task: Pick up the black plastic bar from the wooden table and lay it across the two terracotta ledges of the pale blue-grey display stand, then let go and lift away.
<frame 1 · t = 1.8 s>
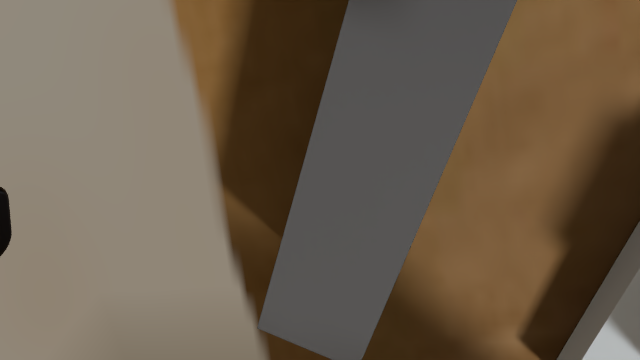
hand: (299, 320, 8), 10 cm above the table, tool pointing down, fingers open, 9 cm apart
frame bar: (411, 75, 16), on the table
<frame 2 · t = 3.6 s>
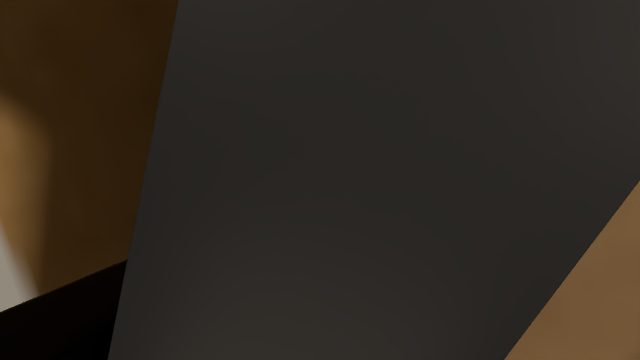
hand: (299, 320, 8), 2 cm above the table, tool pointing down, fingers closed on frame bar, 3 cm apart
frame bar: (333, 250, 9), on the table, touching gripper
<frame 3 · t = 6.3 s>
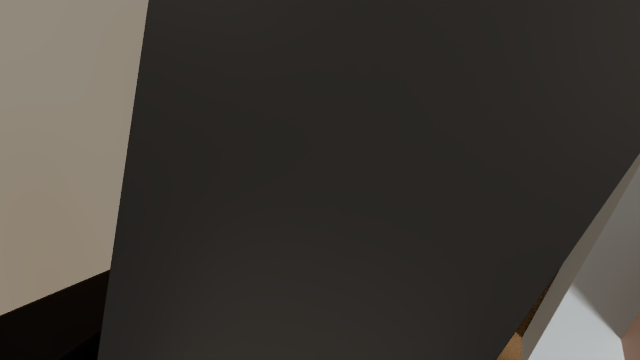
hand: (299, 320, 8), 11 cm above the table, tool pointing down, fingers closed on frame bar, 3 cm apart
frame bar: (330, 253, 9), point 9 cm above the table, touching gripper
when the fingers open (7 cm above the table, at t = 9.1 s): frame bar stays where it is, resting on display stand.
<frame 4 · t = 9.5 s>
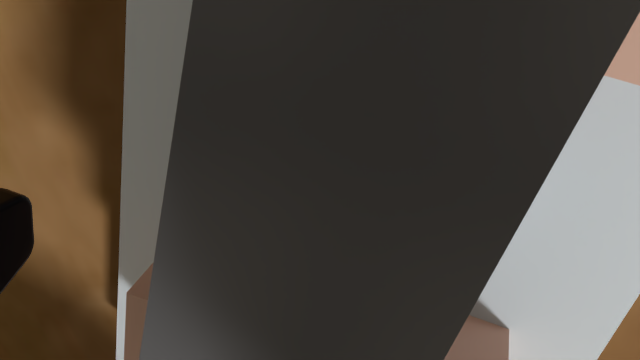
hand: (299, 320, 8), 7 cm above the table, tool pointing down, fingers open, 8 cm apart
frame bar: (347, 219, 10), point 4 cm above the table, touching display stand
display stand: (394, 118, 14), on the table
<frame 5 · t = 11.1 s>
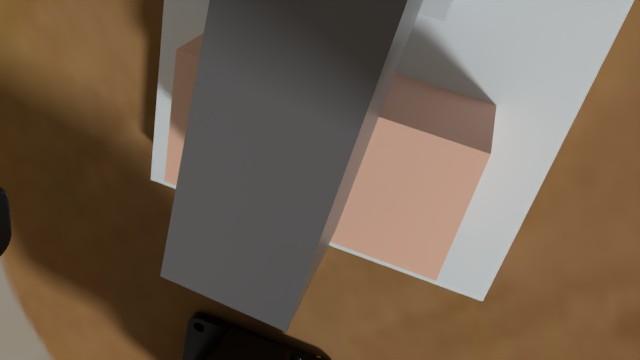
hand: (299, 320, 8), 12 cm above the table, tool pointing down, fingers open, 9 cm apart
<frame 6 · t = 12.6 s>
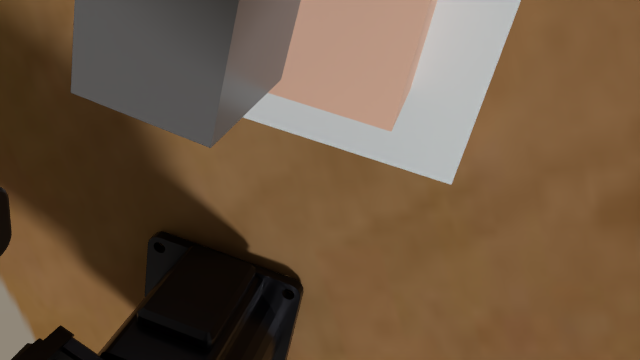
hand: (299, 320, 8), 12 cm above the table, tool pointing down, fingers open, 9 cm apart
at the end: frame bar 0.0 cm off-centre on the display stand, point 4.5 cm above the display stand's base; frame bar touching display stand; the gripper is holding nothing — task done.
